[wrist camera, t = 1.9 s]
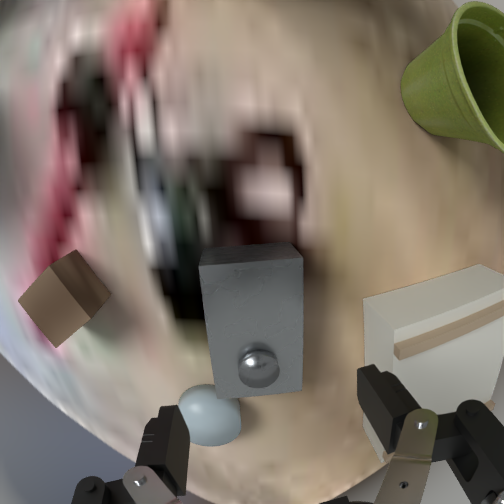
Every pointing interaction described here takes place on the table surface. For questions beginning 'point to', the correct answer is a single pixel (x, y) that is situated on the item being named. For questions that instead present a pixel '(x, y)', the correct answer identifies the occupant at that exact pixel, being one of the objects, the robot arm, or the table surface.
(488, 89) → the plant pot
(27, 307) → the walnut block
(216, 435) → the grey dome
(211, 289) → the block
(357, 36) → the table surface
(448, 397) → the stand
